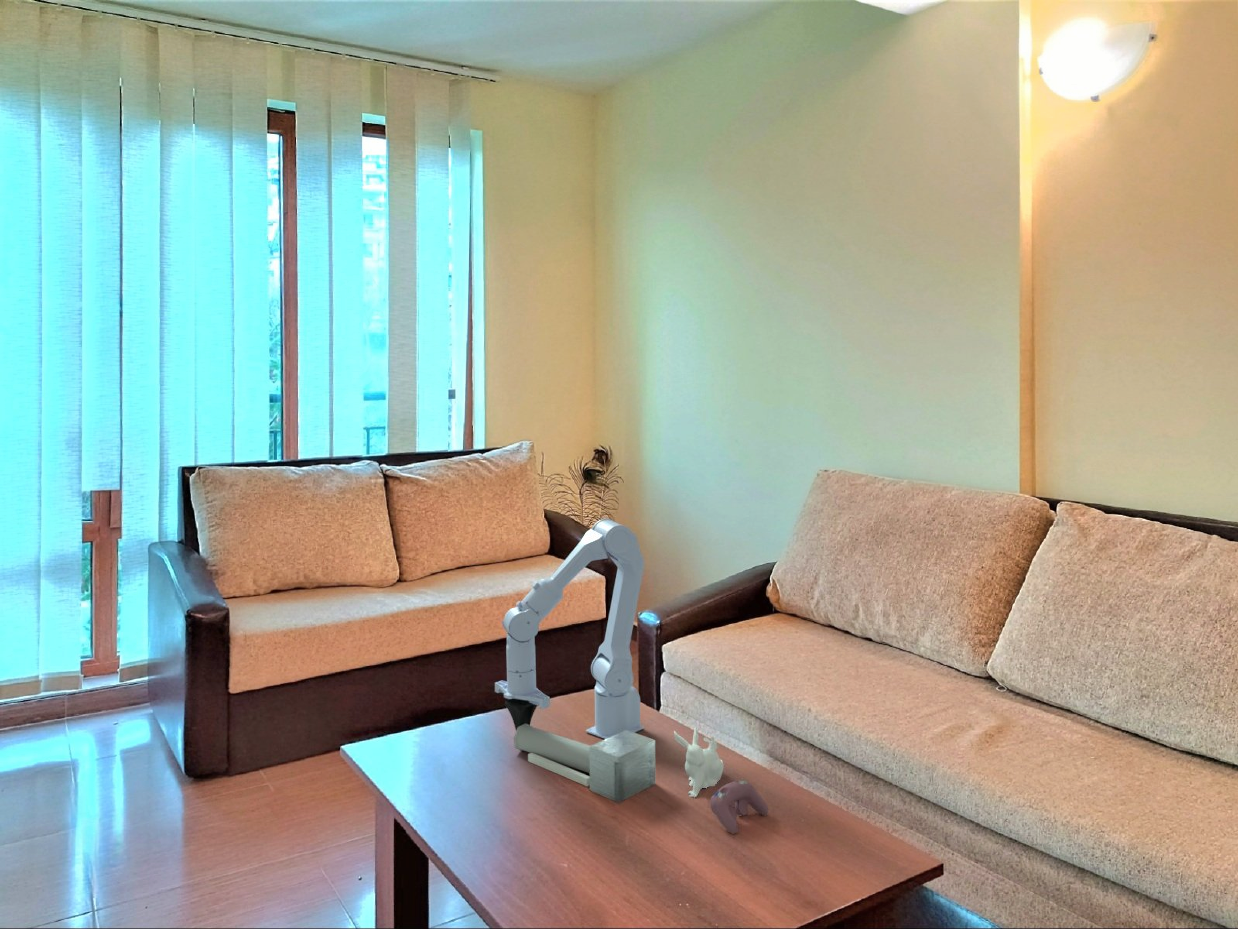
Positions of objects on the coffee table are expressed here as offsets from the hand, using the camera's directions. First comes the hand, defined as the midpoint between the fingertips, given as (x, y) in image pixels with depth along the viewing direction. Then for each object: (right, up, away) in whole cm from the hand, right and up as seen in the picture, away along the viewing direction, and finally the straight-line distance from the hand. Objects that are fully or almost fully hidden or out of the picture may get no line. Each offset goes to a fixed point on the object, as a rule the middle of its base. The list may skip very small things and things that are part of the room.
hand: (522, 734), depth 180 cm
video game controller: (+39, -5, -30) cm, 50 cm away
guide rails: (+10, -3, -9) cm, 14 cm away
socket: (+20, -4, -18) cm, 27 cm away
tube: (+10, -3, -9) cm, 14 cm away
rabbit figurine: (+34, -4, -16) cm, 37 cm away
